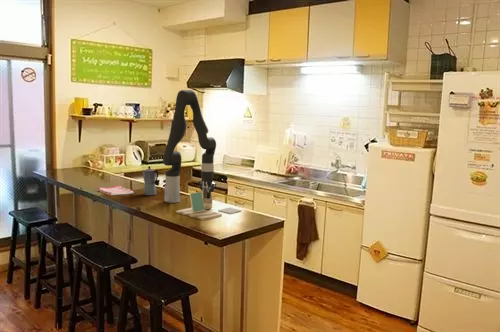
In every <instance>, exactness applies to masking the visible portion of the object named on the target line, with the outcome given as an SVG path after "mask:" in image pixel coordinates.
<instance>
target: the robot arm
mask: <svg viewBox="0 0 500 332" xmlns="http://www.w3.org/2000/svg"><path fill="white" fill-rule="evenodd" d="M175 99H176V100H175V107H174V114H173V118H172V123H171V126H170V130H169V134H168V135H169V136H168V139H167V143H166V147H165V149H164V152H163V157H162V162H163V165H165V166H168V167H169V166H170V168H169V169H168V170H166V171H165V186H164V202H165V203H173V204H175V203H180V199H181V198H180V194H181V193H180V192H181V187H180V186H181V185H180V184H181V182H180V181H181V180H180V178H181V176H180V175H181V170H182V155H181V152H180V151H178V150H175V148H176V147H177V145H178V144H179V143H180V142H181V141H182V140H183V138H184V136H185V135H186V130H187V126H188V124H187V120H186V118H185V109H186V107H187V106H189V108H191V110H192V124H193V127H194V130H195V131H196V133H197V138H198V143H199V146H200V147H201V149H202V150H205V151H204V153H202V155H201V166H200V168H201V169H200V177H201V180H198V186H199V189H200V191H201V192H203V189H207V192H208V193H207V199H210V198H211V197H212V193H214V191H215V188H216V186H217V183H215V182H214V180H213V179H214V172H215V171H214V169H215V166H214V156H215V152H216V148H217V140H216V139H215V138H214V137H212V136H210V137H208V135H207V134H208V133H209V128H208V126H207V124H206V121H205V120H204V117H203V114H202V110H201V107H200V104H199V100H198V96H197V94H196V91H194V90H192V89H181V90H179V91H178V92H177V95H176V98H175Z"/></svg>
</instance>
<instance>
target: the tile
mask: <svg viewBox="0 0 500 332" xmlns="http://www.w3.org/2000/svg"><path fill="white" fill-rule="evenodd" d="M189 199H190V206H191V207H192V213H193V212H198V211H202V210H205V209H204V203H203V191H197V192H192V193H189ZM191 207H190V208H191Z"/></svg>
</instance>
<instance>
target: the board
mask: <svg viewBox="0 0 500 332" xmlns="http://www.w3.org/2000/svg"><path fill="white" fill-rule="evenodd" d="M175 213H176V214H180V215H183V216H187V217H191V218H194V219H198V220H202V221H207V220H211V219H215V218H219V217H222V216H223V213H221V212H220V213H219V212H215V211H211V210H208V209H206V210H202V211H198V212H193V213H192V207H187V208H182V209H181V208H180V209H178V210H176V211H175Z"/></svg>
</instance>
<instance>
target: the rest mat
mask: <svg viewBox="0 0 500 332" xmlns="http://www.w3.org/2000/svg"><path fill="white" fill-rule="evenodd" d="M217 211H218V212H220V213H224V214H229V215H232V214H237V213H240V212H242V209H237V208H232V207H225V208H222V209H217Z"/></svg>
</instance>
